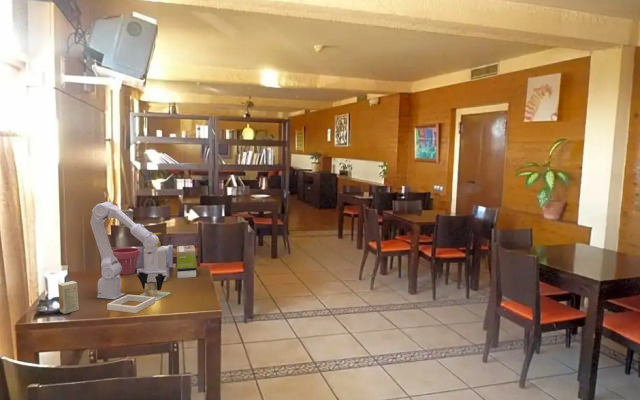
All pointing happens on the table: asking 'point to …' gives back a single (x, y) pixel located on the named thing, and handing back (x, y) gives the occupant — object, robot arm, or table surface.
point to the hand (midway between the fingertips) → (152, 289)
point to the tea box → (186, 261)
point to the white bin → (132, 309)
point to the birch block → (151, 289)
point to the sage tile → (159, 296)
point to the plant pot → (127, 259)
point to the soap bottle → (160, 261)
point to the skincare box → (68, 297)
